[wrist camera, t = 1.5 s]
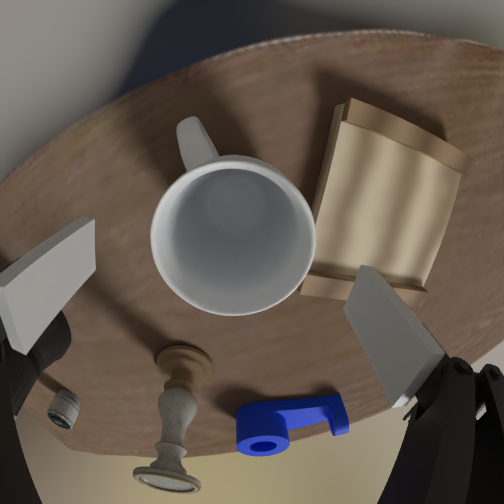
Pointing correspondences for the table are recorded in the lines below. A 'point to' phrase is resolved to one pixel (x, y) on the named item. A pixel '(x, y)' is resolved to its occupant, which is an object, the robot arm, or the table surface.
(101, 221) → the table surface
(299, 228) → the mug
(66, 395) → the camera lens
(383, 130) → the wooden tray
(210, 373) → the candle holder
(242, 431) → the bracket
